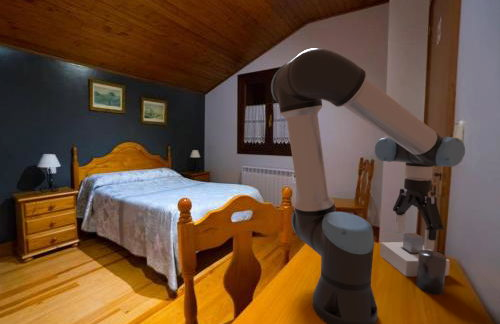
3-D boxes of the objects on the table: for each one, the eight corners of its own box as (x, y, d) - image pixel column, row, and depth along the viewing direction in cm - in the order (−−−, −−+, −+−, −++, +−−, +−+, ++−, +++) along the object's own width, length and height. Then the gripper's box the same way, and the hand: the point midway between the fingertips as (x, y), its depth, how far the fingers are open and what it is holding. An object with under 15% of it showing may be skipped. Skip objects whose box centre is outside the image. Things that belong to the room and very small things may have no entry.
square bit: (409, 266, 82) (412, 237, 81) (401, 260, 86) (403, 233, 85) (421, 266, 83) (423, 237, 82) (412, 260, 87) (414, 233, 86)
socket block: (405, 276, 77) (406, 261, 77) (380, 255, 91) (380, 242, 91) (448, 275, 78) (449, 260, 77) (416, 254, 92) (417, 241, 91)
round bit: (427, 295, 68) (430, 260, 67) (411, 281, 74) (413, 249, 74) (449, 294, 68) (452, 260, 67) (431, 281, 75) (434, 249, 74)
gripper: (462, 185, 70) (456, 257, 72) (403, 173, 94) (400, 226, 96) (437, 185, 69) (431, 257, 71) (384, 173, 94) (381, 227, 96)
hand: (413, 240), depth 84 cm, fingers open, 13 cm apart
